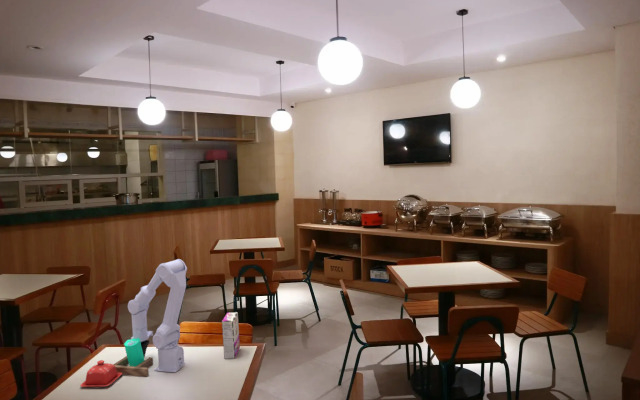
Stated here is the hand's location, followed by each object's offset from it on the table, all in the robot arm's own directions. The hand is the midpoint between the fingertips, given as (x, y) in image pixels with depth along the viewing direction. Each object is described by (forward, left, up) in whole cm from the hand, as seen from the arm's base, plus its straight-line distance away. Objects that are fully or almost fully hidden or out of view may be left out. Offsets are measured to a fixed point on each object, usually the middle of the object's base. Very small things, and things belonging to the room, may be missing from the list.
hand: (141, 358), depth 192 cm
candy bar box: (-34, -14, -2) cm, 37 cm away
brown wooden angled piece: (0, +6, -1) cm, 6 cm away
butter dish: (+5, +18, -2) cm, 19 cm away
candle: (0, +3, -1) cm, 3 cm away
